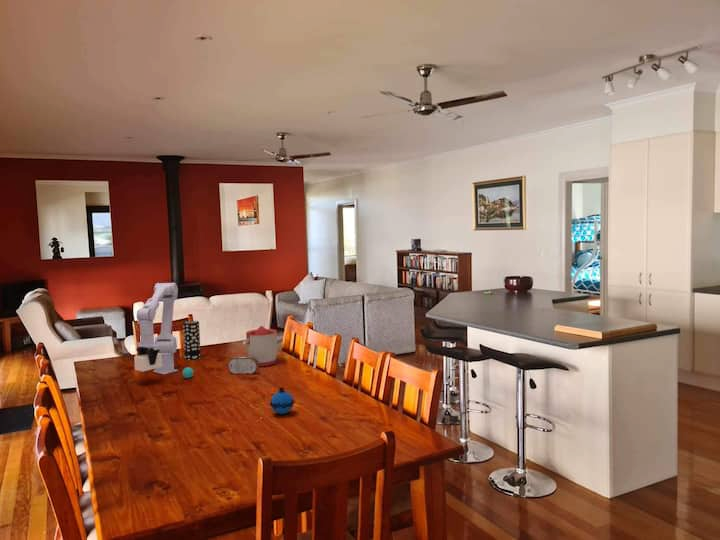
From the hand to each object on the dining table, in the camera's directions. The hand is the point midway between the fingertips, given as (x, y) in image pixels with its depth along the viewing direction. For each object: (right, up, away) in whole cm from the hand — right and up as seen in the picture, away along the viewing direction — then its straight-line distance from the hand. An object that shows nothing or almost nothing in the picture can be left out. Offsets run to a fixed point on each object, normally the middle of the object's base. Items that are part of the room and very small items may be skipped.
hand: (148, 363), depth 242 cm
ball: (+16, -6, +7) cm, 18 cm away
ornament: (+68, -11, -45) cm, 82 cm away
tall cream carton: (0, -2, 0) cm, 2 cm away
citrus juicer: (+46, -6, +30) cm, 55 cm away
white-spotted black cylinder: (+6, -6, +46) cm, 47 cm away
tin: (+41, -7, +13) cm, 43 cm away
